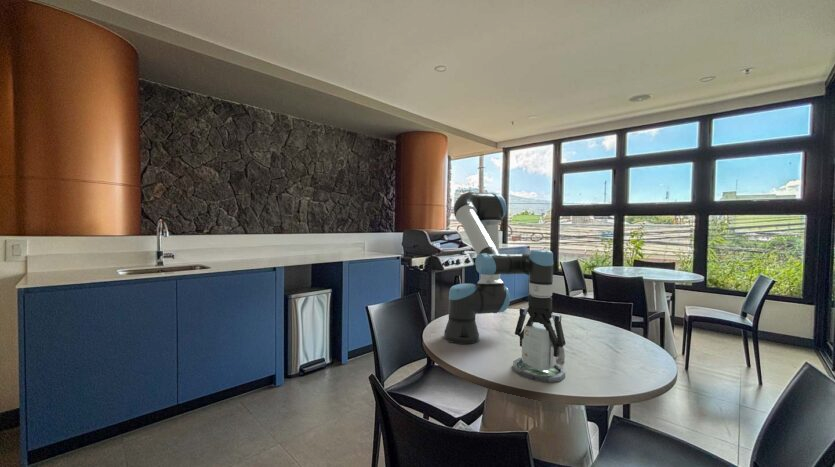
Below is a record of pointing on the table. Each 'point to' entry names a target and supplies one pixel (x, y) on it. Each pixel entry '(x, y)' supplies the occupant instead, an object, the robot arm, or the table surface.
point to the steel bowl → (538, 372)
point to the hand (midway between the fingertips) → (538, 360)
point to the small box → (537, 347)
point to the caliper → (561, 354)
